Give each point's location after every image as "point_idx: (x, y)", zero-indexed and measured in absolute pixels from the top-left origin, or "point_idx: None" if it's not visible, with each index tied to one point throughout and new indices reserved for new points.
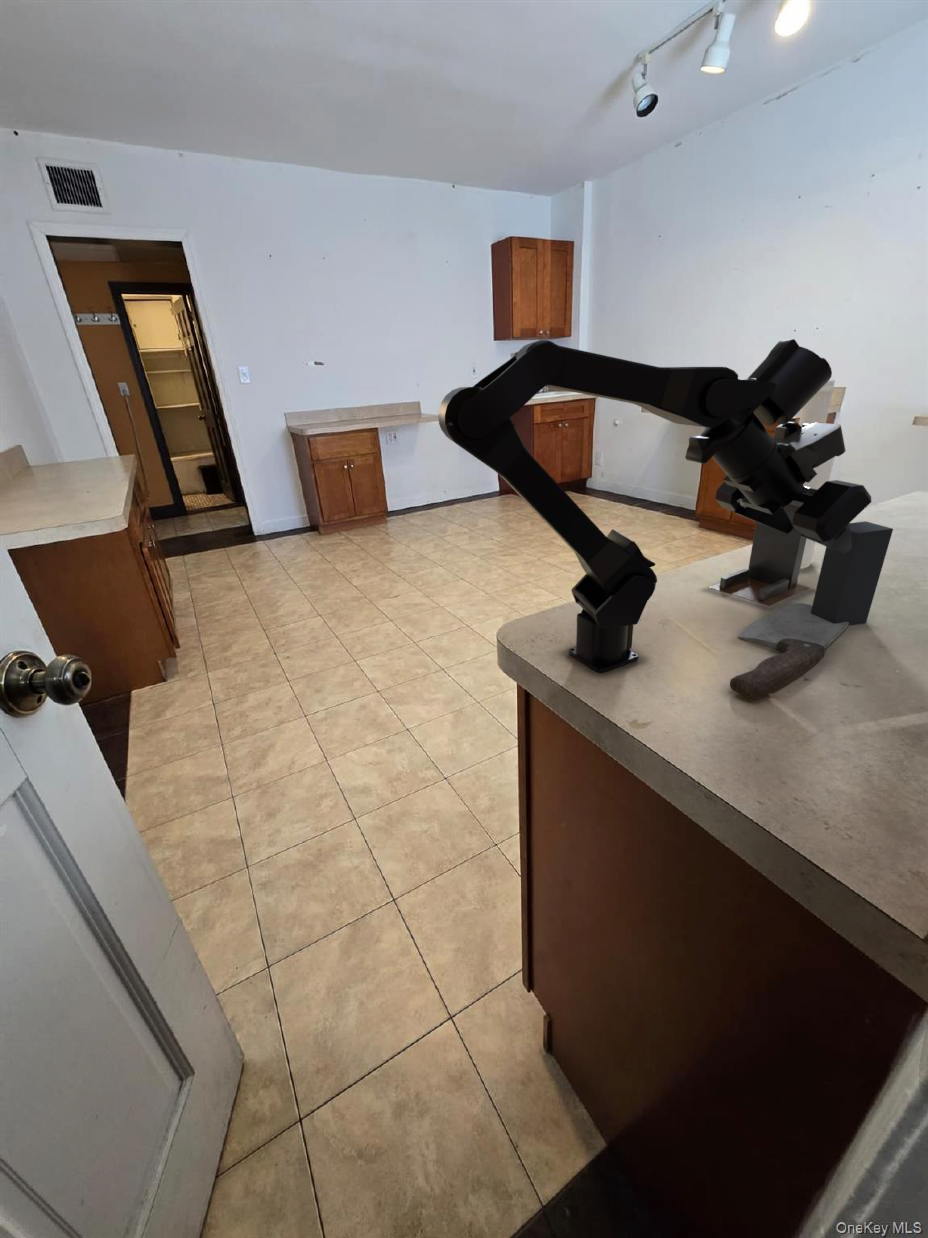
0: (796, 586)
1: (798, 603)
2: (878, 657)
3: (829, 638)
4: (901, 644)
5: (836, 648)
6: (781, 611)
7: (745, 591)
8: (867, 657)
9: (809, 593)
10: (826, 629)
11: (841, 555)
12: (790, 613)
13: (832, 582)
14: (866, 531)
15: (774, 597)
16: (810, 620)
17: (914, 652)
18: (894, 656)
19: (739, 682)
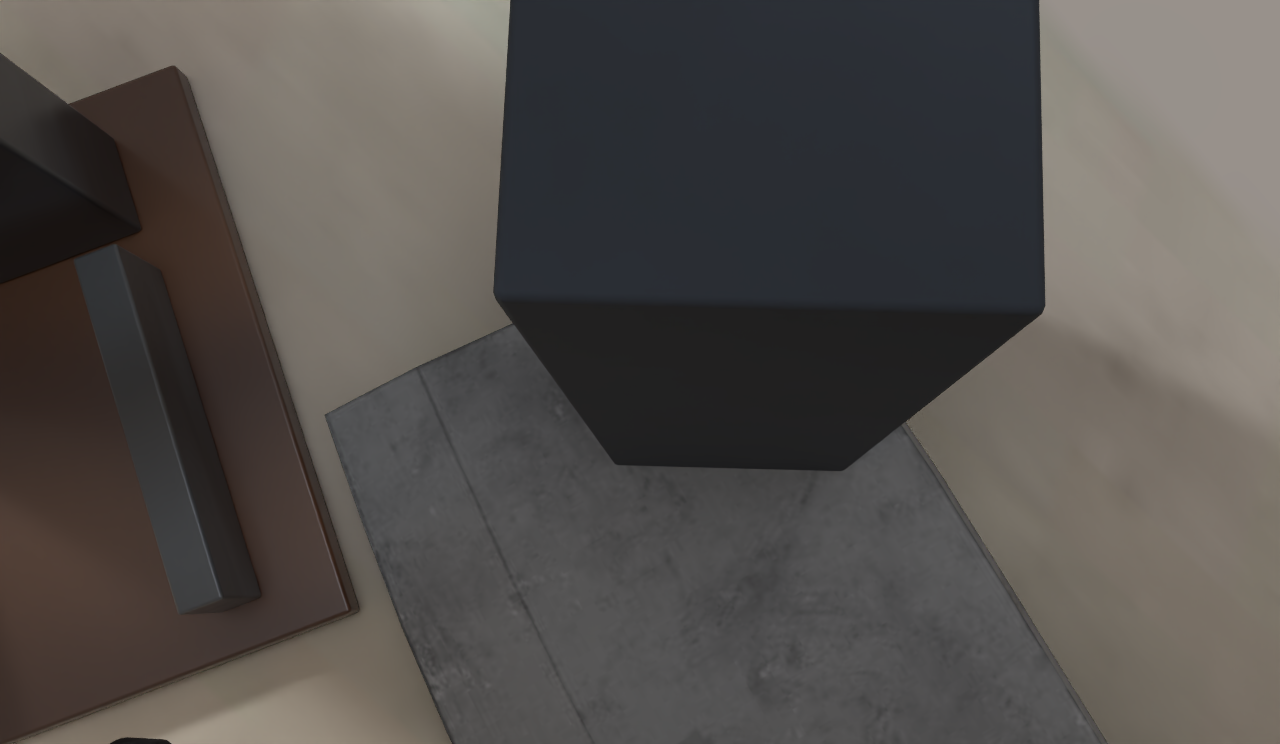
0: (120, 142)
1: (406, 383)
2: (1248, 501)
3: (1072, 719)
4: (1127, 217)
5: (1067, 651)
6: (487, 617)
7: (34, 586)
8: (1231, 566)
9: (227, 109)
10: (921, 605)
11: (810, 384)
12: (560, 600)
13: (758, 429)
14: (1019, 124)
15: (231, 456)
16: (735, 575)
17: (1242, 239)
18: (1260, 397)
19: None
